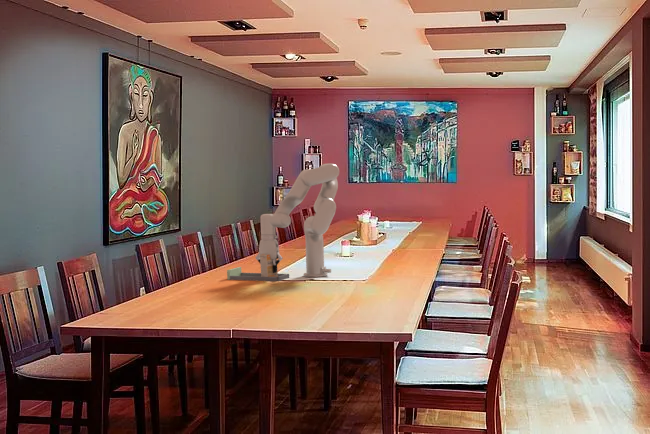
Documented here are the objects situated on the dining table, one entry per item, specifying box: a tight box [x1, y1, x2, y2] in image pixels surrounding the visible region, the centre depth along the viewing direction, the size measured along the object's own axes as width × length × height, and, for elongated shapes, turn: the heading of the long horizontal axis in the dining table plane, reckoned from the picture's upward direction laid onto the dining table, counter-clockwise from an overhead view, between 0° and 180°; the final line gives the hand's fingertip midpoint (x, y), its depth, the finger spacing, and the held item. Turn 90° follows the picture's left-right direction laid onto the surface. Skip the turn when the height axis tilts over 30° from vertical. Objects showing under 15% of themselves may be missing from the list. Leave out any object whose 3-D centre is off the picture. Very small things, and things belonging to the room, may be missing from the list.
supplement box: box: [259, 254, 279, 277], centre depth 405 cm, size 8×5×13 cm, turn 143°
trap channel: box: [226, 266, 290, 282], centre depth 408 cm, size 30×13×5 cm, turn 68°
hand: (269, 272), depth 405 cm, fingers closed on supplement box, 5 cm apart
